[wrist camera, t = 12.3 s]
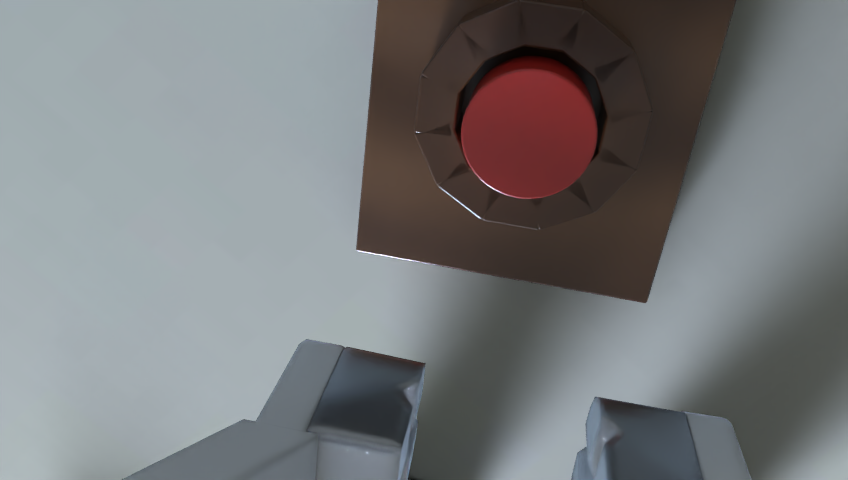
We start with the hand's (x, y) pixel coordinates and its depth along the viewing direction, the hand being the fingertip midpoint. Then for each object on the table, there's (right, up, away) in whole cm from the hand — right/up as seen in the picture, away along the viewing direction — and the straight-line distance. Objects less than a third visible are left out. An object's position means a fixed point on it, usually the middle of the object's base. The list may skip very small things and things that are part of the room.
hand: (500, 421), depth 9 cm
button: (+2, +6, +12) cm, 13 cm away
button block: (+3, +7, +15) cm, 17 cm away
